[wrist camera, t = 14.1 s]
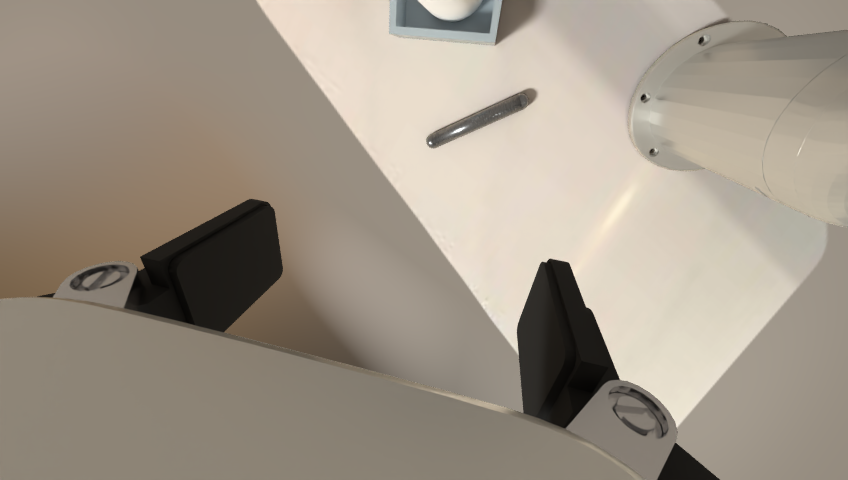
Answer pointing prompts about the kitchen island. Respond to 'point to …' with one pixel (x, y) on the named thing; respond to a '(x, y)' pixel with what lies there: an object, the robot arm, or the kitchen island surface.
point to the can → (451, 8)
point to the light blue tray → (444, 23)
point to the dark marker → (478, 120)
